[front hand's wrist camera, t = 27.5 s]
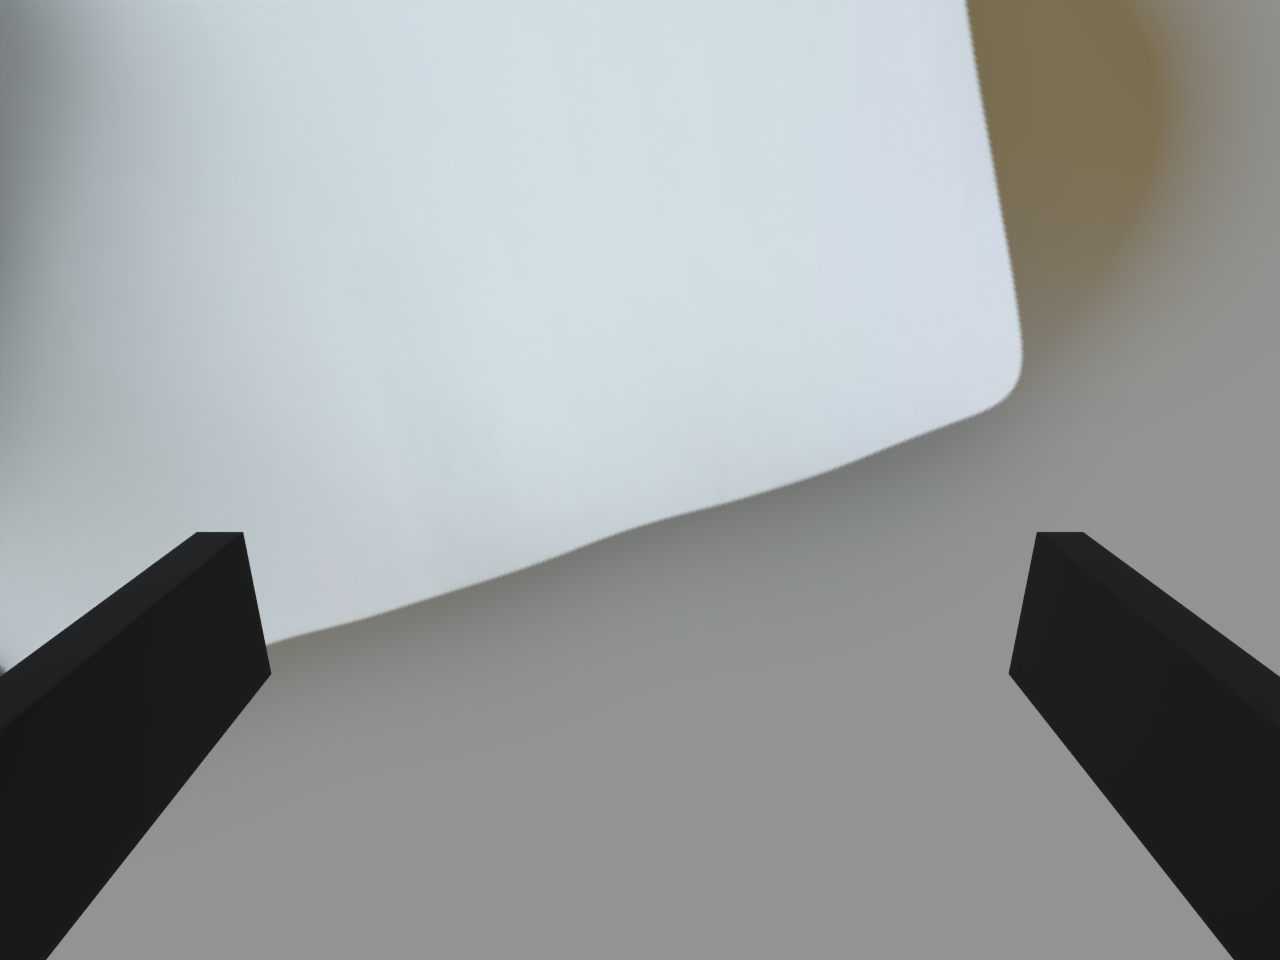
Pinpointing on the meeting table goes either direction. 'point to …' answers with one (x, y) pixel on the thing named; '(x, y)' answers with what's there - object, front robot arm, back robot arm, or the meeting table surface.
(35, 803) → the front robot arm
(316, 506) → the meeting table surface
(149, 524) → the meeting table surface
